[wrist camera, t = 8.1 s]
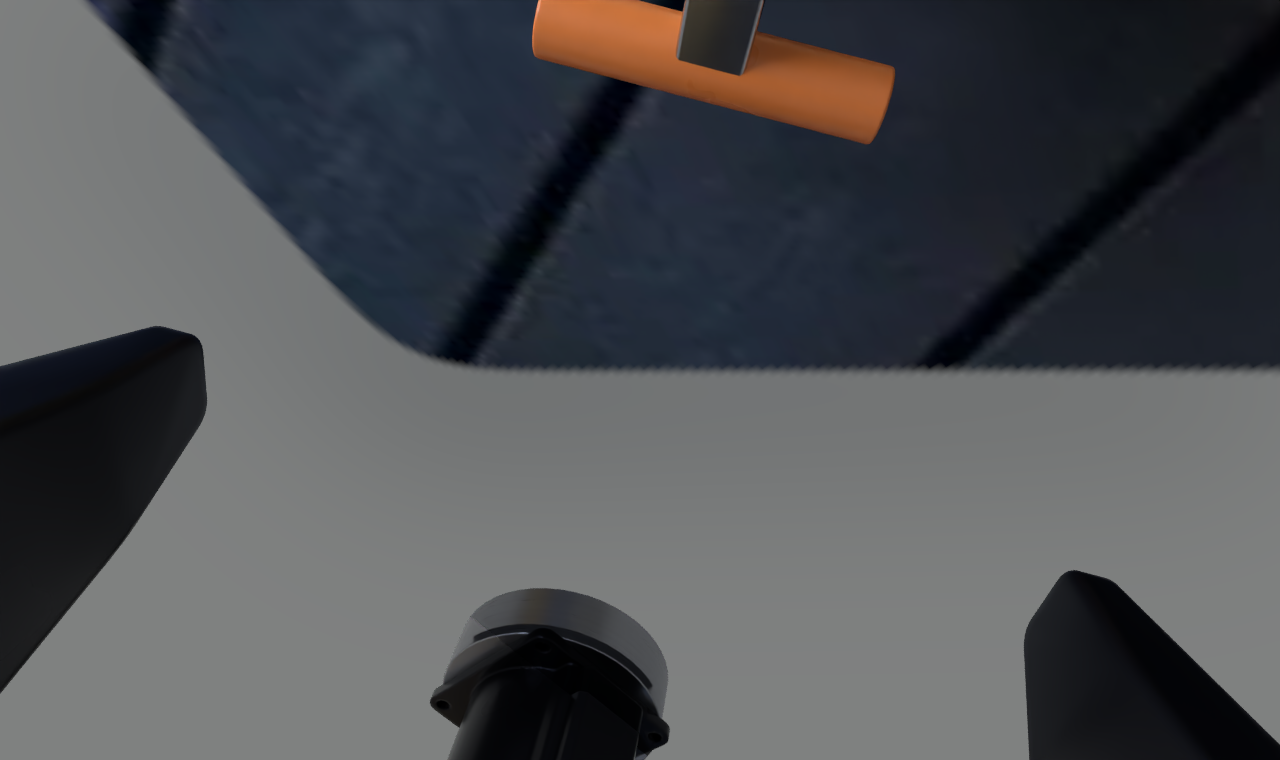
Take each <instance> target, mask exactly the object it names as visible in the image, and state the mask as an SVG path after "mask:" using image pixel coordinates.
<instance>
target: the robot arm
mask: <svg viewBox="0 0 1280 760" xmlns="http://www.w3.org/2000/svg"><path fill="white" fill-rule="evenodd" d="M206 406H207V393H206V381H205V369H204V357H203V349H202V345H201V343H200V340H199V339H198V338H197V337H195V336H194V335H192V334H189V333H185V332H181V331H177V330H173V329H170V328H166V327H161V326H154V327H149V328H146V329H141V330H138V331H134V332H130V333H126V334H122V335H119V336H115V337H111V338H107V339H103V340H99V341H96V342H92V343H88V344H84V345H80V346H76V347H73V348H69V349H65V350H61V351H58V352H53V353H50V354H46V355H42V356H38V357H35V358H31V359H27V360H23V361H19V362H16V363H11V364H8V365H4V366H0V693H1V692H2V691H3V690H4V688H5V687H6V686H7V685H8V683H9V682H10V681H11V680H12V679H13V677H14V676H15V675H16V674H17V672H18V671H19V670H20V669H21V668H22V666H23V665H24V664H25V663H26V661H27V660H28V659H29V658H30V656H31V655H32V654H33V653H34V651H35V650H36V649H37V648H38V647H39V645H40V644H41V643H42V642H43V640H44V639H45V638H46V637H47V636H48V634H49V633H50V632H51V631H52V630H53V628H54V627H55V626H56V625H57V623H58V622H59V621H60V620H61V619H62V617H63V616H64V615H65V614H66V612H67V611H68V610H69V609H70V608H71V606H72V605H73V604H74V603H75V601H76V600H77V599H78V598H79V596H80V595H81V594H82V593H83V592H84V590H85V589H86V588H87V587H88V585H89V584H90V583H91V581H93V579H94V578H95V577H96V576H97V574H98V573H99V572H100V571H101V569H102V568H103V567H104V566H105V565H106V563H107V562H108V561H109V560H110V558H111V557H112V556H113V555H114V553H115V552H116V551H117V549H118V548H119V547H120V546H121V544H122V543H123V542H124V540H125V539H126V537H127V536H128V535H129V533H130V532H131V530H132V529H133V527H134V526H135V525H136V523H137V522H138V520H139V519H140V517H141V516H142V514H143V512H144V511H145V509H146V508H147V506H148V504H149V503H150V502H151V500H152V498H153V497H154V495H155V494H156V492H157V491H158V489H159V488H160V486H161V485H162V483H163V481H164V480H165V478H166V477H167V475H168V474H169V472H170V470H171V469H172V468H173V466H174V464H175V463H176V461H177V460H178V458H179V457H180V455H181V454H182V452H183V451H184V449H185V447H186V446H187V444H188V443H189V441H190V440H191V438H192V437H193V435H194V433H195V432H196V430H197V429H198V427H199V426H200V424H201V422H202V420H203V417H204V415H205V411H206ZM543 642H544V643H543ZM1024 658H1025V678H1026V699H1027V719H1028V739H1029V760H1280V744H1279V743H1278V742H1276V740H1274V739H1273V738H1272V737H1271V736H1270V735H1269V734H1268V733H1267V732H1266V731H1265V730H1264V729H1263V728H1262V727H1261V726H1260V725H1259V724H1258V723H1257V722H1256V721H1255V720H1254V719H1253V718H1252V717H1251V716H1250V715H1249V714H1248V713H1247V712H1246V711H1245V710H1244V709H1243V708H1242V707H1241V706H1240V705H1239V704H1238V703H1237V702H1236V701H1235V700H1234V699H1233V698H1232V697H1231V696H1230V695H1229V694H1228V693H1227V692H1225V690H1224V689H1222V688H1221V687H1220V685H1218V684H1217V683H1216V682H1215V681H1214V680H1213V679H1212V678H1211V677H1210V676H1209V675H1208V674H1207V673H1206V672H1205V671H1204V670H1203V669H1202V668H1201V667H1200V666H1199V665H1198V664H1197V663H1196V662H1195V661H1194V660H1193V659H1192V658H1191V657H1190V656H1189V655H1188V654H1187V653H1186V652H1185V651H1184V650H1183V649H1182V648H1181V647H1180V646H1179V645H1178V644H1177V643H1176V642H1175V641H1173V639H1172V638H1171V637H1170V636H1169V635H1168V634H1167V633H1166V632H1164V630H1162V629H1161V628H1160V627H1159V626H1158V625H1157V624H1156V623H1155V622H1154V621H1153V620H1152V619H1151V618H1150V617H1149V616H1148V615H1147V614H1146V613H1145V612H1144V611H1143V610H1142V609H1141V608H1140V607H1139V606H1138V605H1137V604H1136V603H1135V602H1134V601H1133V600H1132V599H1131V598H1130V597H1129V596H1128V595H1127V594H1126V593H1125V592H1124V591H1123V590H1122V589H1121V588H1120V587H1119V586H1118V585H1117V584H1116V583H1114V582H1113V581H1111V580H1109V579H1107V578H1103V577H1100V576H1096V575H1092V574H1088V573H1084V572H1081V571H1077V570H1076V571H1075V570H1073V571H1068V572H1066V573H1064V574H1063V575H1062V576H1061V577H1060V578H1059V579H1058V581H1057V582H1056V584H1055V585H1054V587H1053V588H1052V589H1051V591H1050V593H1049V594H1048V595H1047V597H1046V598H1045V600H1044V601H1043V603H1042V604H1041V606H1040V607H1039V609H1038V610H1037V612H1036V613H1035V615H1034V616H1033V617H1032V619H1031V621H1030V622H1029V625H1028V627H1027V629H1026V633H1025V639H1024ZM430 704H431V706H432V707H433V708H434V709H435V710H436V711H437V712H439V713H440V714H441V715H443V716H444V717H445V718H447V719H448V720H450V721H451V722H452V723H453V724H455V725H456V726H458V727H459V731H458V733H457V736H456V738H455V741H454V744H453V746H452V749H451V751H450V754H449V757H448V760H635V758H636V757H639V756H641V755H643V754H645V753H647V752H650V751H652V750H654V749H656V748H658V747H661V746H663V745H665V744H666V743H667V742H668V739H669V733H670V727H669V725H668V724H667V723H666V722H665V721H664V720H663V719H661V718H660V717H659V716H658V715H656V714H655V713H654V712H653V711H651V710H650V709H649V708H648V707H647V706H645V705H644V704H643V703H642V702H640V701H639V700H638V699H637V698H635V697H634V696H633V695H632V694H631V693H629V692H628V691H627V690H626V689H624V688H623V687H622V686H621V685H620V684H618V683H617V682H616V681H615V680H613V679H612V678H611V677H610V676H608V675H607V674H606V673H605V672H604V671H602V670H601V669H600V668H599V667H597V666H596V665H595V664H594V663H593V662H591V661H590V660H589V659H588V658H586V657H585V656H584V655H583V654H581V653H580V652H579V651H578V650H577V649H575V648H574V647H573V646H572V645H570V644H569V643H568V642H567V641H565V640H564V639H563V638H562V637H561V636H559V635H558V634H557V633H556V632H554V631H552V630H551V629H547V628H538V629H535V630H533V631H532V632H530V633H528V634H527V635H525V636H523V637H522V638H520V639H518V640H517V641H515V642H513V643H512V644H510V645H508V646H507V647H505V648H503V649H502V650H500V651H498V652H497V653H495V654H493V655H491V656H490V657H488V658H486V659H485V660H483V661H481V662H480V663H478V664H476V665H475V666H473V667H471V668H470V669H468V670H466V671H465V672H463V673H461V674H460V675H458V676H456V677H455V678H453V679H451V680H450V681H448V682H446V683H445V684H443V685H441V686H440V687H438V688H436V690H435V691H434V693H433V695H432V697H431V700H430Z"/></svg>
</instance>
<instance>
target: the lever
mask: <svg viewBox="0 0 1280 760" xmlns="http://www.w3.org/2000/svg"><path fill="white" fill-rule="evenodd" d="M764 3H765V0H685V1H684V6H683V12H681V11H677V10H673V9H669V8H666V7H662V6H658V5H654V4H650V3H646V2H643V1H639V0H539V1H538V5H537V9H536V14H535V19H534V26H533V37H532V45H533V53H534V55H535V57H537V58H538V59H542V60H546V61H550V62H553V63H557V64H561V65H565V66H569V67H572V68H576V69H580V70H584V71H588V72H592V73H595V74H599V75H603V76H607V77H611V78H615V79H618V80H622V81H626V82H630V83H634V84H638V85H641V86H645V87H649V88H653V89H657V90H661V91H664V92H668V93H672V94H676V95H680V96H683V97H687V98H691V99H695V100H699V101H703V102H706V103H710V104H714V105H718V106H722V107H726V108H729V109H733V110H737V111H741V112H745V113H749V114H752V115H756V116H760V117H764V118H768V119H772V120H775V121H779V122H783V123H787V124H791V125H794V126H798V127H802V128H806V129H810V130H814V131H817V132H821V133H825V134H829V135H833V136H837V137H840V138H844V139H848V140H852V141H856V142H860V143H863V144H870V143H871V142H872V141H873V139H874V138H875V136H876V135H877V133H878V131H879V129H880V126H881V124H882V121H883V119H884V116H885V113H886V111H887V108H888V104H889V101H890V98H891V94H892V90H893V86H894V80H895V69H894V68H893V67H892V66H889V65H885V64H882V63H878V62H874V61H870V60H866V59H862V58H858V57H855V56H851V55H847V54H843V53H839V52H835V51H831V50H828V49H824V48H820V47H816V46H812V45H808V44H804V43H801V42H797V41H793V40H789V39H785V38H781V37H777V36H774V35H770V34H766V33H762V32H758V31H757V29H758V25H759V21H760V18H761V14H762V11H763V7H764Z"/></svg>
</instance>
